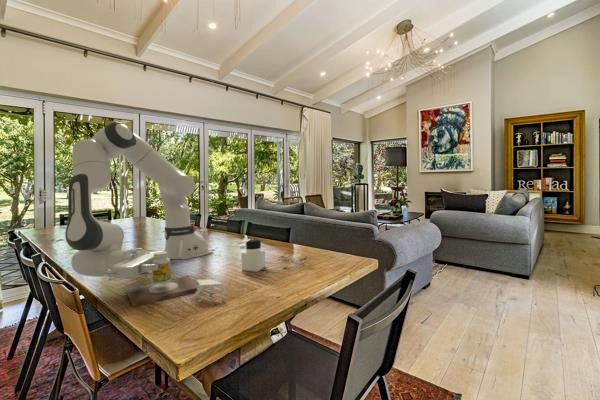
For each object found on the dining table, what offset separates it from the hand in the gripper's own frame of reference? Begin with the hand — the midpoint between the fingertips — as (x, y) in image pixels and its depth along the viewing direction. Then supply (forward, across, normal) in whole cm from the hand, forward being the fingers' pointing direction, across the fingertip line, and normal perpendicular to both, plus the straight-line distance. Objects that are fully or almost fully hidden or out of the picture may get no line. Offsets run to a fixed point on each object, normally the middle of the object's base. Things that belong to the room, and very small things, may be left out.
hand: (164, 264), depth 100 cm
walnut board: (-1, 0, +9) cm, 9 cm away
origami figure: (+17, -4, +10) cm, 20 cm away
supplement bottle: (-1, 0, +6) cm, 6 cm away
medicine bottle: (+24, +25, +9) cm, 36 cm away
